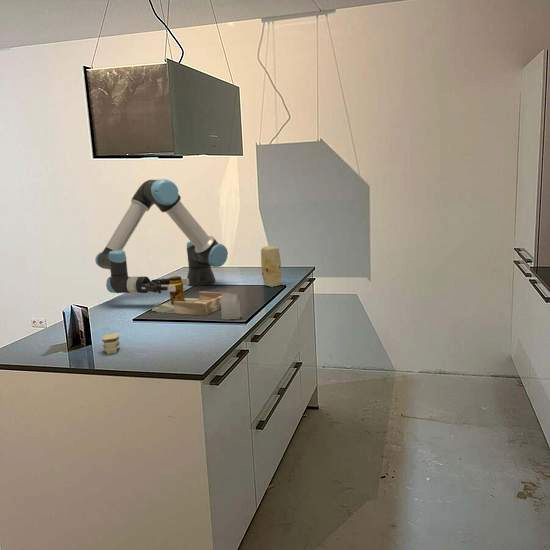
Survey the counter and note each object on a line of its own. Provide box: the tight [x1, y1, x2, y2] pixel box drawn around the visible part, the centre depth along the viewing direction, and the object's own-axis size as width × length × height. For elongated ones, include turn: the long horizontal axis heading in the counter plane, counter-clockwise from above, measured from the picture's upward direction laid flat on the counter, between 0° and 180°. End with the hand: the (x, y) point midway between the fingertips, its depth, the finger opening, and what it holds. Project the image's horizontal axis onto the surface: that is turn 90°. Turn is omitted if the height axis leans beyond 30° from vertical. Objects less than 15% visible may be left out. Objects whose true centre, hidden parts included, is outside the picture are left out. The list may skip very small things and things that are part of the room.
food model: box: [260, 245, 283, 288], centre depth 294 cm, size 10×7×20 cm
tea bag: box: [220, 293, 242, 320], centre depth 238 cm, size 4×7×10 cm, turn 69°
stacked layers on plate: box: [101, 332, 121, 355], centre depth 206 cm, size 10×9×6 cm
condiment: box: [168, 275, 186, 306], centre depth 264 cm, size 7×8×12 cm
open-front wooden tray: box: [151, 291, 231, 316], centre depth 261 cm, size 20×28×5 cm
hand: (182, 284), depth 262 cm, fingers open, 13 cm apart
